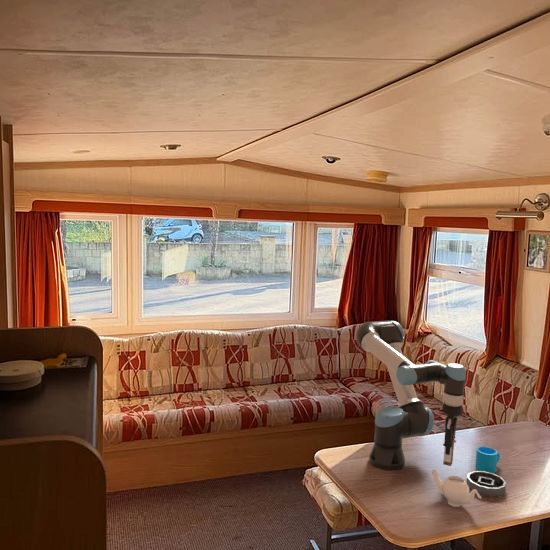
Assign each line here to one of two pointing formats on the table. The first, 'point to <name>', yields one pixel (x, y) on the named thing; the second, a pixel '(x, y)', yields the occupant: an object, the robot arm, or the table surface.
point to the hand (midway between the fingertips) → (448, 459)
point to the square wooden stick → (452, 452)
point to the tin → (486, 483)
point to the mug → (486, 459)
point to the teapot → (455, 490)
